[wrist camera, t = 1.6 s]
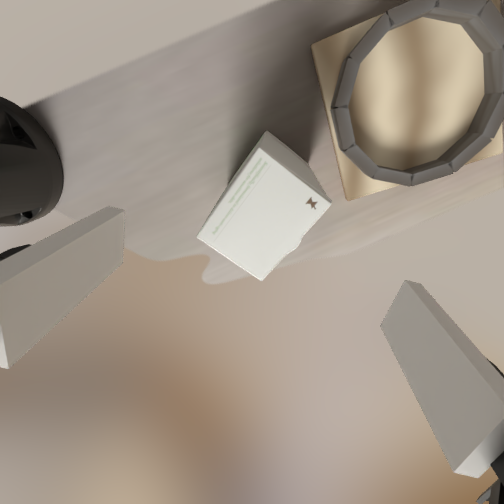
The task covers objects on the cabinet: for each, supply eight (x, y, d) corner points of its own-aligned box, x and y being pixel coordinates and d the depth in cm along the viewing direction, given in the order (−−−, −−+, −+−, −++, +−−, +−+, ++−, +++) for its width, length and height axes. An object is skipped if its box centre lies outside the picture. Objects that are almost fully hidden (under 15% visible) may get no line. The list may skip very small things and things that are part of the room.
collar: (345, 198, 34) (353, 207, 31) (310, 46, 28) (315, 37, 25) (494, 151, 31) (521, 155, 28) (490, -31, 25) (523, -54, 22)
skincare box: (266, 128, 32) (260, 136, 18) (312, 166, 33) (340, 201, 19) (224, 189, 35) (190, 236, 21) (267, 221, 36) (263, 286, 22)
